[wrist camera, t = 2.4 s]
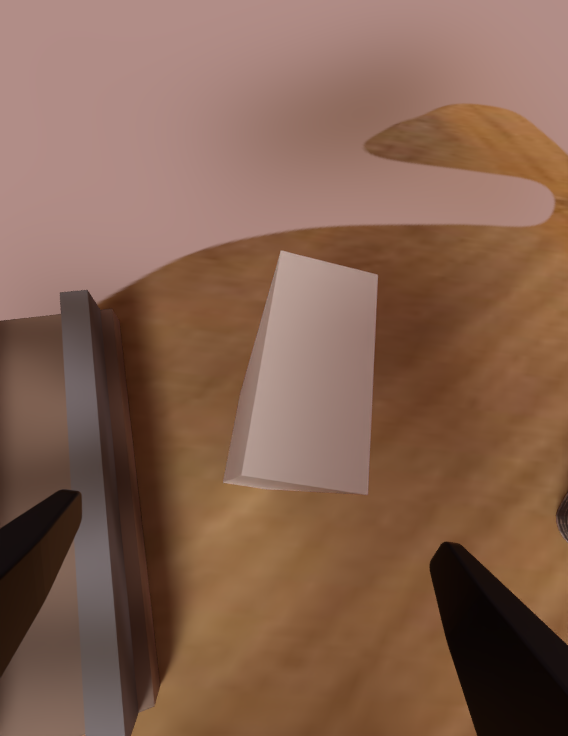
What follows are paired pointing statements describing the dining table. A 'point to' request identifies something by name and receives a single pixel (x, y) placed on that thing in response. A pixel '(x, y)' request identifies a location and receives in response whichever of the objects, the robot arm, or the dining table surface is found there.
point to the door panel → (309, 383)
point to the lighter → (563, 518)
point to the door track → (96, 532)
